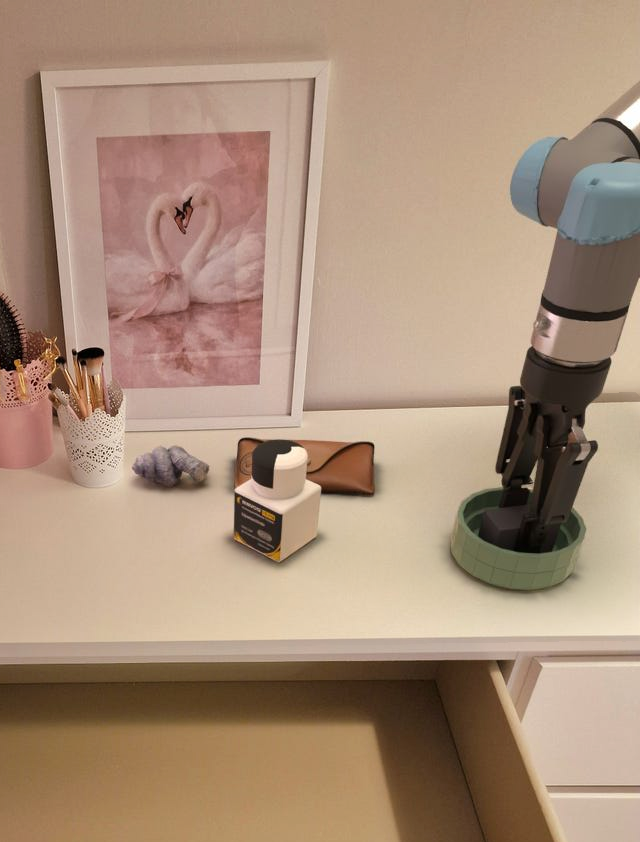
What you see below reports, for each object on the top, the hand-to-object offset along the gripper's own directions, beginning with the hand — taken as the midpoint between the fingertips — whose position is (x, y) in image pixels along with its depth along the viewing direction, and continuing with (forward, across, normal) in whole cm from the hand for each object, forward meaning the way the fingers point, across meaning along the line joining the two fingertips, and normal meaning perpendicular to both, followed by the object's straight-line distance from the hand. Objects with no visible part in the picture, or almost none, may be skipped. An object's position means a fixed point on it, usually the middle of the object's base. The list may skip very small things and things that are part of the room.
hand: (513, 550), depth 97 cm
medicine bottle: (+1, -9, -25) cm, 27 cm away
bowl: (+1, 0, 0) cm, 1 cm away
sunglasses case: (+1, -21, -18) cm, 28 cm away
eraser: (0, 0, 0) cm, 0 cm away
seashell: (+1, -24, -35) cm, 43 cm away
